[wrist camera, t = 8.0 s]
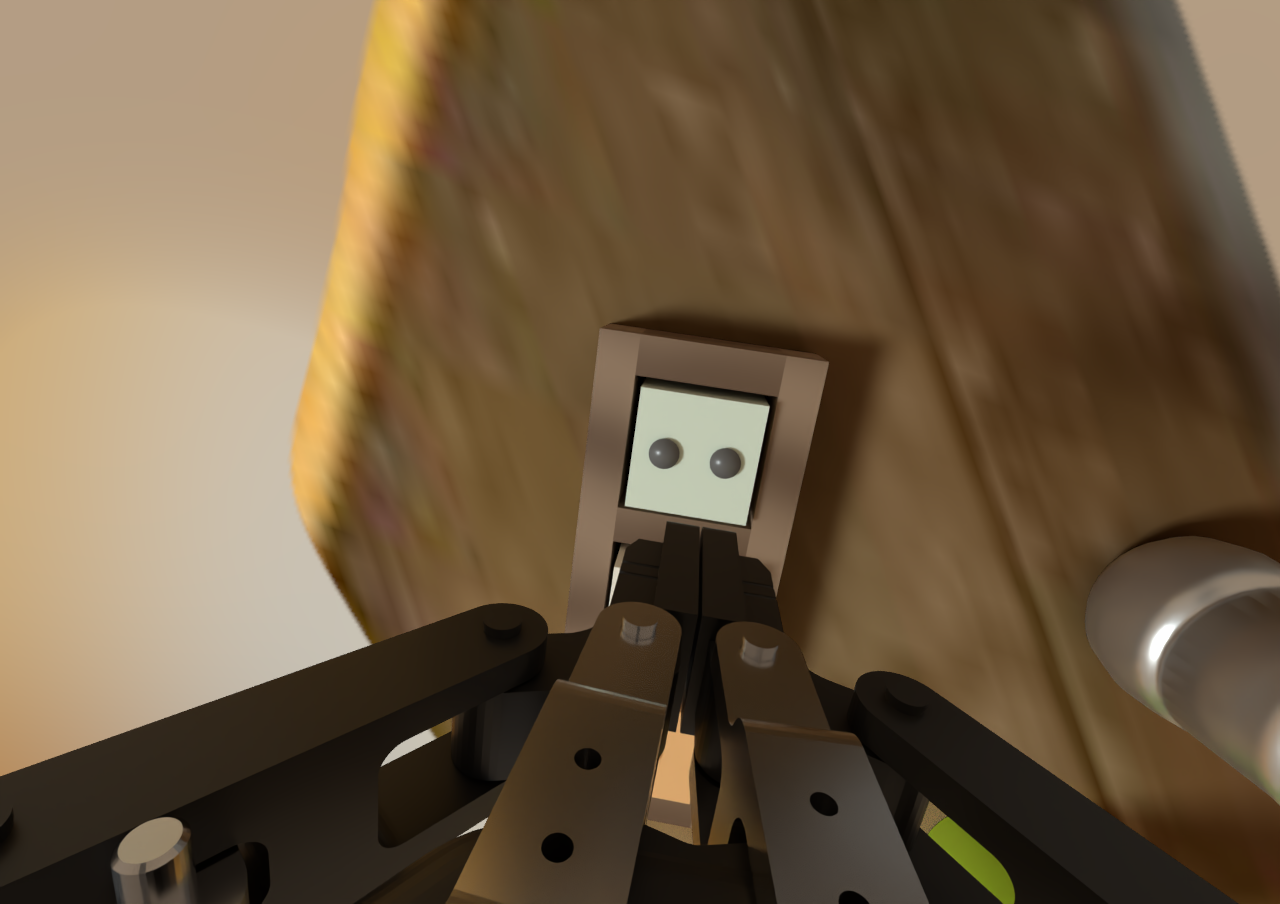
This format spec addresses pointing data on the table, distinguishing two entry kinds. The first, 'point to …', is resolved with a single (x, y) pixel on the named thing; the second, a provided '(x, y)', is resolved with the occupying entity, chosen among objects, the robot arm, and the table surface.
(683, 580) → the robot arm
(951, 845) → the soap dispenser
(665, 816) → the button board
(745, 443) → the two dot button
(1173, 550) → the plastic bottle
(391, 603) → the table surface
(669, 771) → the one dot button
